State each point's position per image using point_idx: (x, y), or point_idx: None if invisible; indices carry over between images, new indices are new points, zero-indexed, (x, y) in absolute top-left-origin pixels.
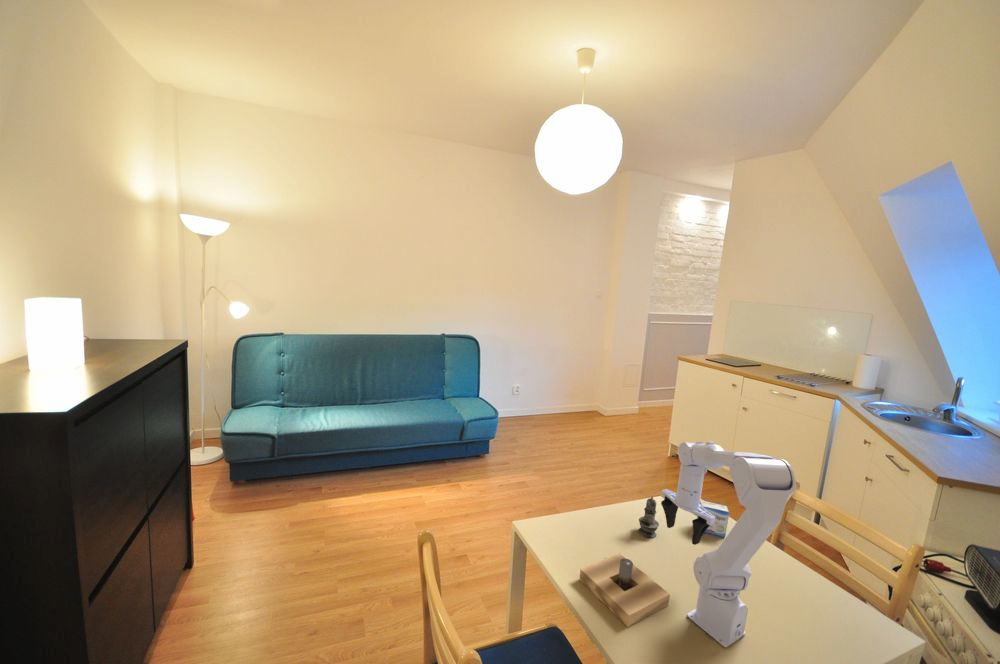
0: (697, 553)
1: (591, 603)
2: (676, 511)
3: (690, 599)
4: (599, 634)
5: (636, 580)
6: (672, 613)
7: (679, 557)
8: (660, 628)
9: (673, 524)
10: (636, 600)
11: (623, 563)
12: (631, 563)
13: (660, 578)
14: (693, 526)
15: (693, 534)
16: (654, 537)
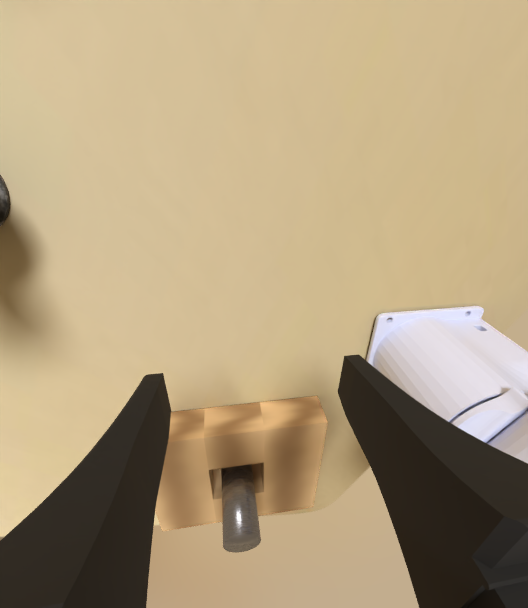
0: (190, 56)
1: None
2: (124, 476)
3: (339, 336)
4: (290, 511)
5: (250, 460)
6: (336, 401)
7: (182, 197)
8: (342, 440)
9: (160, 389)
10: (295, 484)
11: (241, 549)
12: (250, 536)
13: (242, 352)
14: (405, 548)
15: (371, 460)
16: (5, 185)
